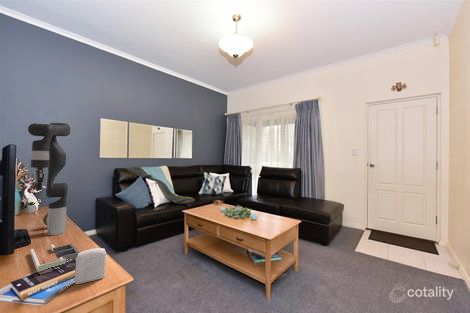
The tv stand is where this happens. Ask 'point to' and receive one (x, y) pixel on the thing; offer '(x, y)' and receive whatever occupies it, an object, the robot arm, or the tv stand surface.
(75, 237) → the tv stand surface
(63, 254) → the box
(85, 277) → the photo printer
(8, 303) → the tv stand surface
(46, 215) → the alarm clock
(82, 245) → the tv stand surface
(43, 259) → the red block
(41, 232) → the tv stand surface
